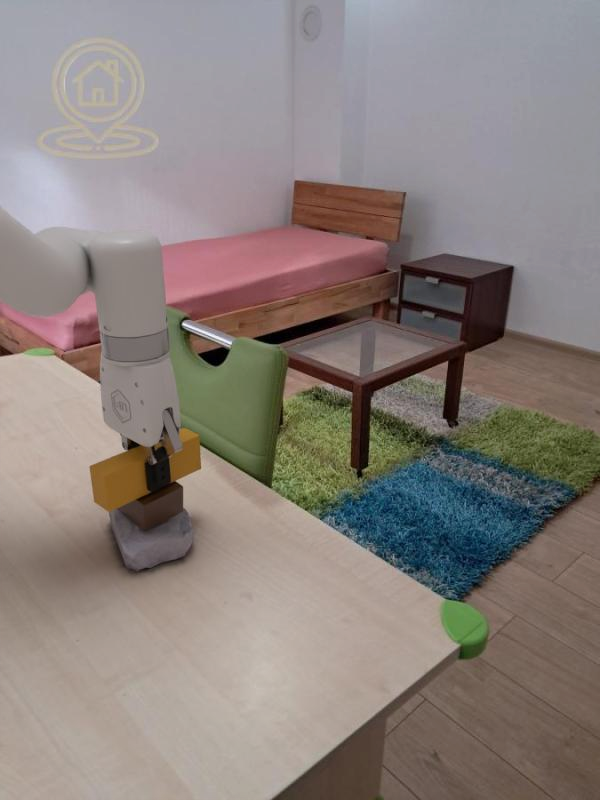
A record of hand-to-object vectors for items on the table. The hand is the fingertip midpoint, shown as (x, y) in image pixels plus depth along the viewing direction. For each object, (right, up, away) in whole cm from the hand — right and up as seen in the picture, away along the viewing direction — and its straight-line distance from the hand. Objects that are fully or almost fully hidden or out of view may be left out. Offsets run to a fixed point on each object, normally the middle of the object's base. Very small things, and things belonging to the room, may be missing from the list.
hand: (149, 479), depth 79 cm
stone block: (0, -8, +4) cm, 9 cm away
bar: (0, -1, 0) cm, 1 cm away
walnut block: (0, -4, +2) cm, 5 cm away
